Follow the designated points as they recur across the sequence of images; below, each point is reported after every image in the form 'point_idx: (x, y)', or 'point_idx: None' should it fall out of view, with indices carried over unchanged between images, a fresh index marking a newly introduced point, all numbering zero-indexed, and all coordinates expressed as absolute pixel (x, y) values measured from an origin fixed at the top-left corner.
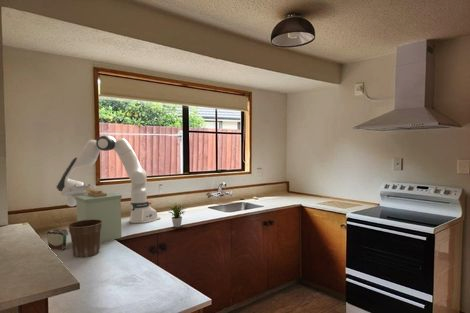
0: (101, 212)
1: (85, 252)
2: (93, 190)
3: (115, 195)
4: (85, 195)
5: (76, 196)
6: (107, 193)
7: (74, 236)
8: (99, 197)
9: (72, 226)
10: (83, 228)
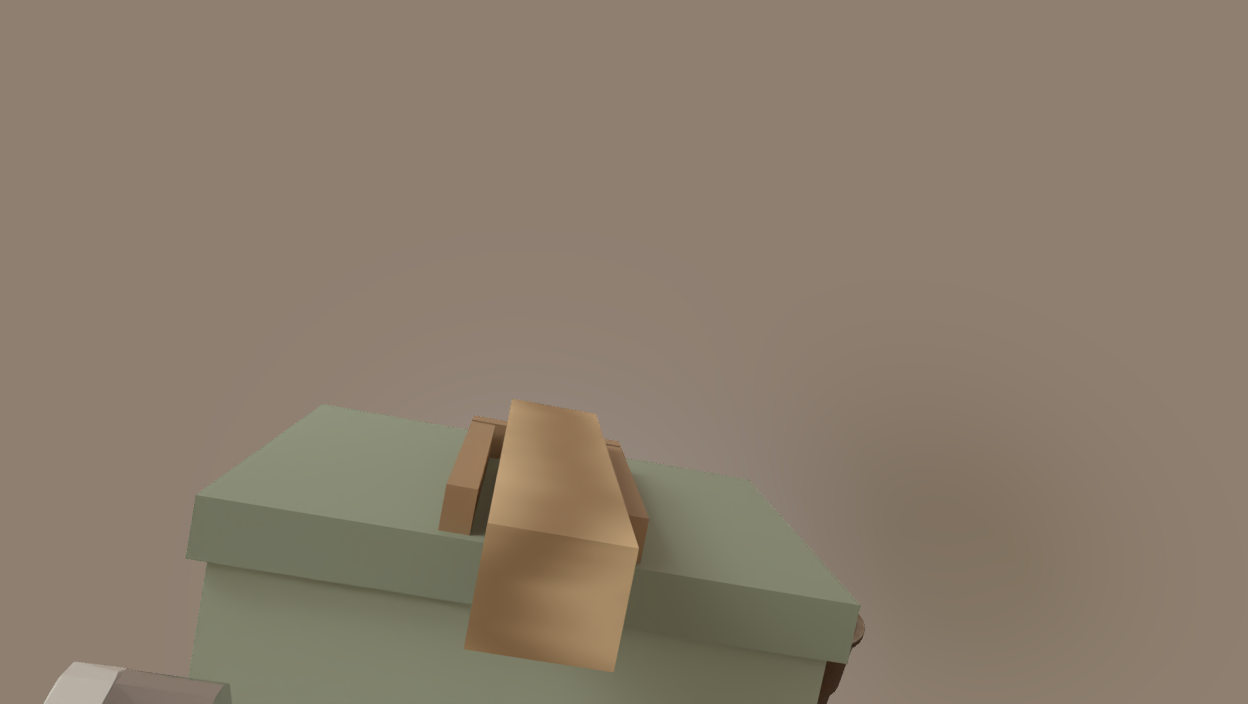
0: None
1: None
2: (597, 437)
3: (380, 421)
4: (690, 566)
5: (837, 590)
6: (324, 485)
7: None
8: None
9: (825, 669)
10: None
